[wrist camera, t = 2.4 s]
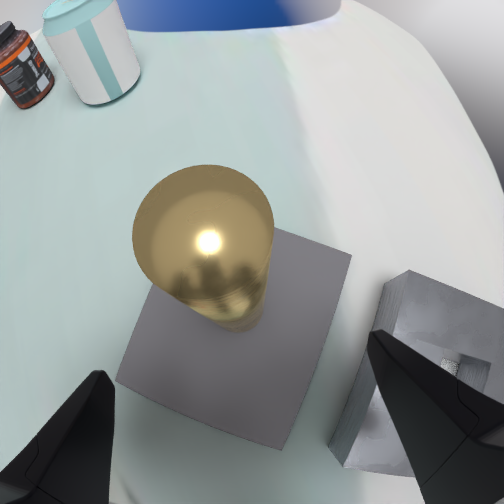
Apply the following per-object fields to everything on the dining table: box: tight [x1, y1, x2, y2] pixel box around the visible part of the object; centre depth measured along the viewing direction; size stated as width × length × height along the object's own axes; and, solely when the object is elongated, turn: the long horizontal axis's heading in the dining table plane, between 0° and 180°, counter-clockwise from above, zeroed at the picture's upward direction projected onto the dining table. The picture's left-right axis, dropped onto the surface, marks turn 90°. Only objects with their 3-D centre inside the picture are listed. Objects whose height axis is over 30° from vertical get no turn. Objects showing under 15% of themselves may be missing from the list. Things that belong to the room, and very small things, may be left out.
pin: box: [132, 165, 274, 333], centre depth 14 cm, size 3×3×14 cm
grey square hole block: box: [328, 270, 504, 477], centre depth 17 cm, size 12×12×4 cm
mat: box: [115, 227, 352, 451], centre depth 20 cm, size 14×12×1 cm
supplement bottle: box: [0, 21, 54, 108], centre depth 23 cm, size 6×6×11 cm
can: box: [42, 0, 140, 105], centre depth 22 cm, size 7×7×12 cm
